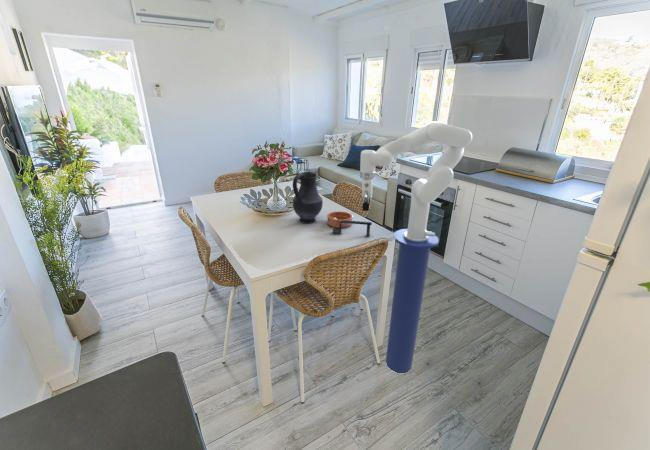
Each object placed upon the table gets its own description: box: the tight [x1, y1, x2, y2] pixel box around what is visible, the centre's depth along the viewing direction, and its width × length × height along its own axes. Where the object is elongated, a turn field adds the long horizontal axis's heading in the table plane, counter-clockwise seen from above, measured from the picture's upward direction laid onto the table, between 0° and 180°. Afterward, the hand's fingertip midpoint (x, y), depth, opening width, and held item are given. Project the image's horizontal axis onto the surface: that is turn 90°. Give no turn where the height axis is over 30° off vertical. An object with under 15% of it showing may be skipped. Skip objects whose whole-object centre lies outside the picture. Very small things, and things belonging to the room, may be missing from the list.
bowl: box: [326, 211, 353, 229], centre depth 184 cm, size 15×15×5 cm
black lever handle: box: [332, 220, 373, 237], centre depth 170 cm, size 21×5×8 cm, turn 80°
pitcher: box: [292, 171, 324, 224], centre depth 182 cm, size 17×21×30 cm
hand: (366, 207), depth 164 cm, fingers open, 9 cm apart
